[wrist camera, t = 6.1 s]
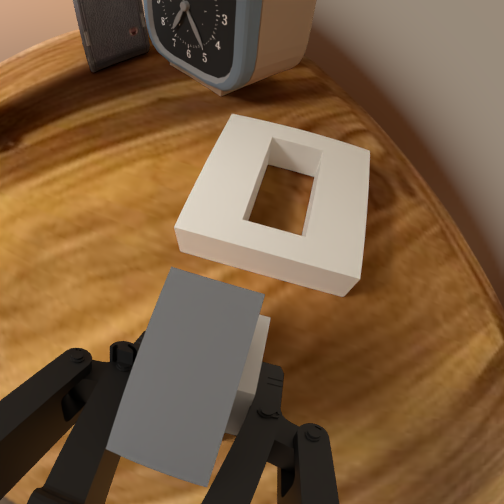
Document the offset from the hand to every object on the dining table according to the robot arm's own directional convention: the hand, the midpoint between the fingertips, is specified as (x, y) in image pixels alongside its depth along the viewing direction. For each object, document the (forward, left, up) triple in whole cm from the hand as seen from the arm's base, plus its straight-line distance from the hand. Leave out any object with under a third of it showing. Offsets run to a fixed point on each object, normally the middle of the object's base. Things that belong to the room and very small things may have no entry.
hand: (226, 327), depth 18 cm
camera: (-33, +36, -4) cm, 49 cm away
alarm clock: (-12, +32, -4) cm, 35 cm away
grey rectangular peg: (0, -4, -4) cm, 6 cm away
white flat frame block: (+1, +12, -4) cm, 13 cm away
